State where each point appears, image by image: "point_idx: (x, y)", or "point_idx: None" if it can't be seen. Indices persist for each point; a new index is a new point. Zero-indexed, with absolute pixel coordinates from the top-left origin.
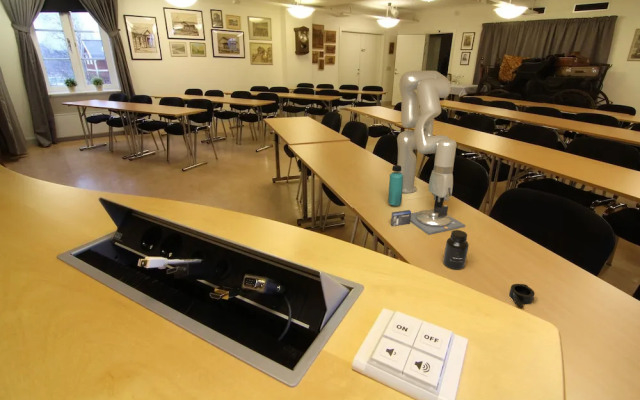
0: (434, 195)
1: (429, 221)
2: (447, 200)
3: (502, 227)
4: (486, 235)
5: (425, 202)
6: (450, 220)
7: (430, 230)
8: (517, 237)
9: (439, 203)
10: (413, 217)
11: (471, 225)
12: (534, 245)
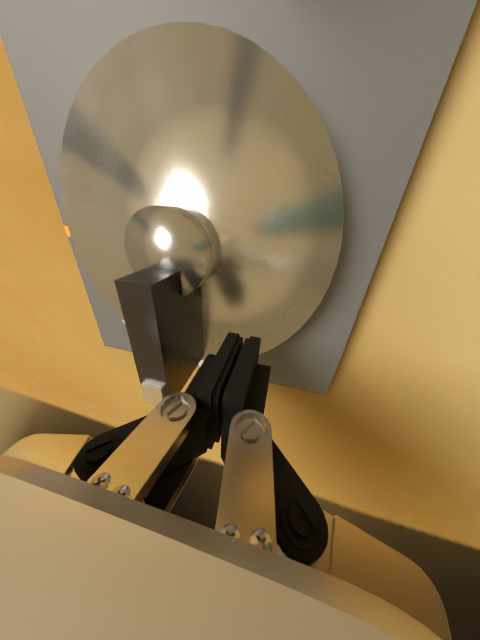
0: (262, 493)
1: (110, 130)
2: (38, 442)
3: (101, 419)
4: (48, 344)
5: (471, 429)
6: (111, 307)
7: (32, 58)
8: (44, 396)
9: (190, 389)
10: (321, 63)
11: (124, 369)
12: (8, 387)
